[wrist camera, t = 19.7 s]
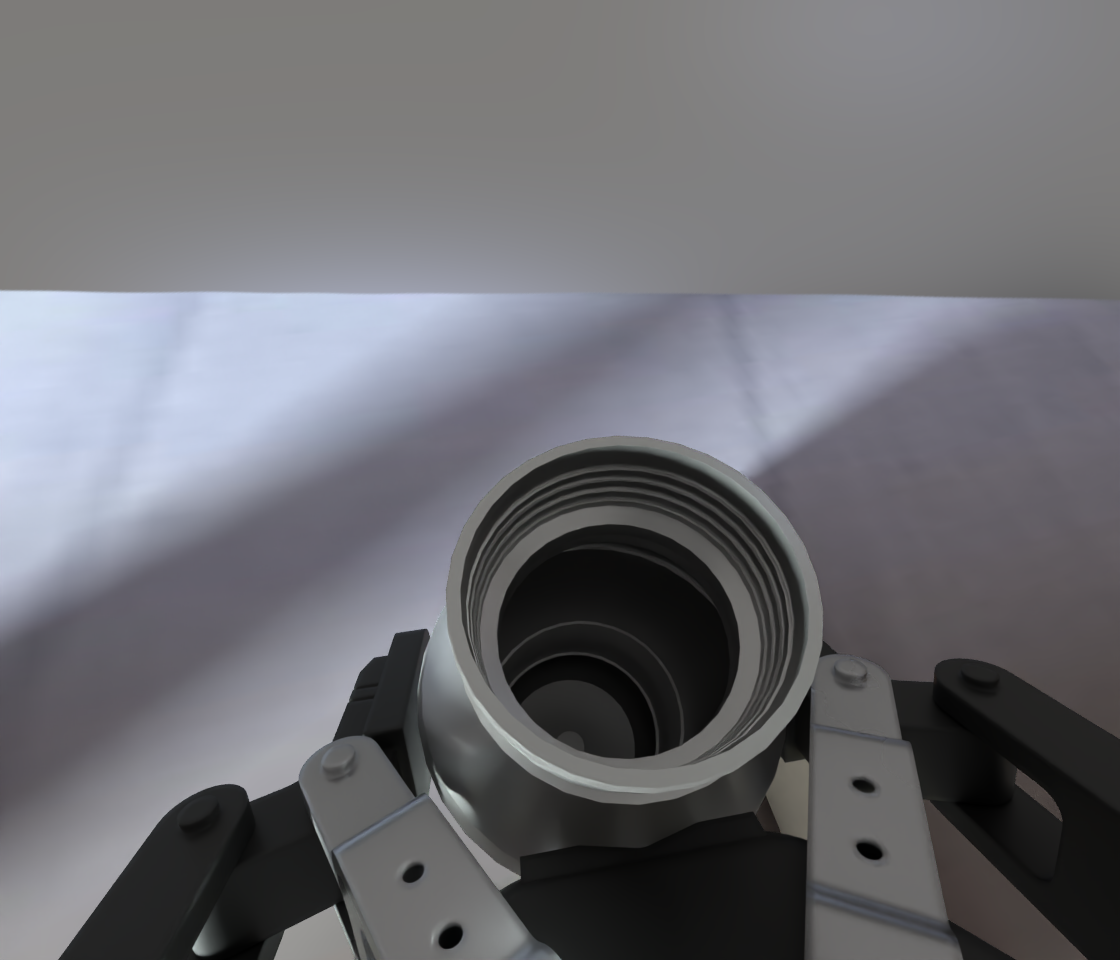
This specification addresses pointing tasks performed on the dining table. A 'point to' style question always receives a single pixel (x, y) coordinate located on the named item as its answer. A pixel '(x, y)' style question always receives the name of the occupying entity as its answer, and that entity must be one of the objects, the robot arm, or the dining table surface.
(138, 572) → the dining table surface
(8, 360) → the dining table surface
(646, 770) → the silver metal bottle
